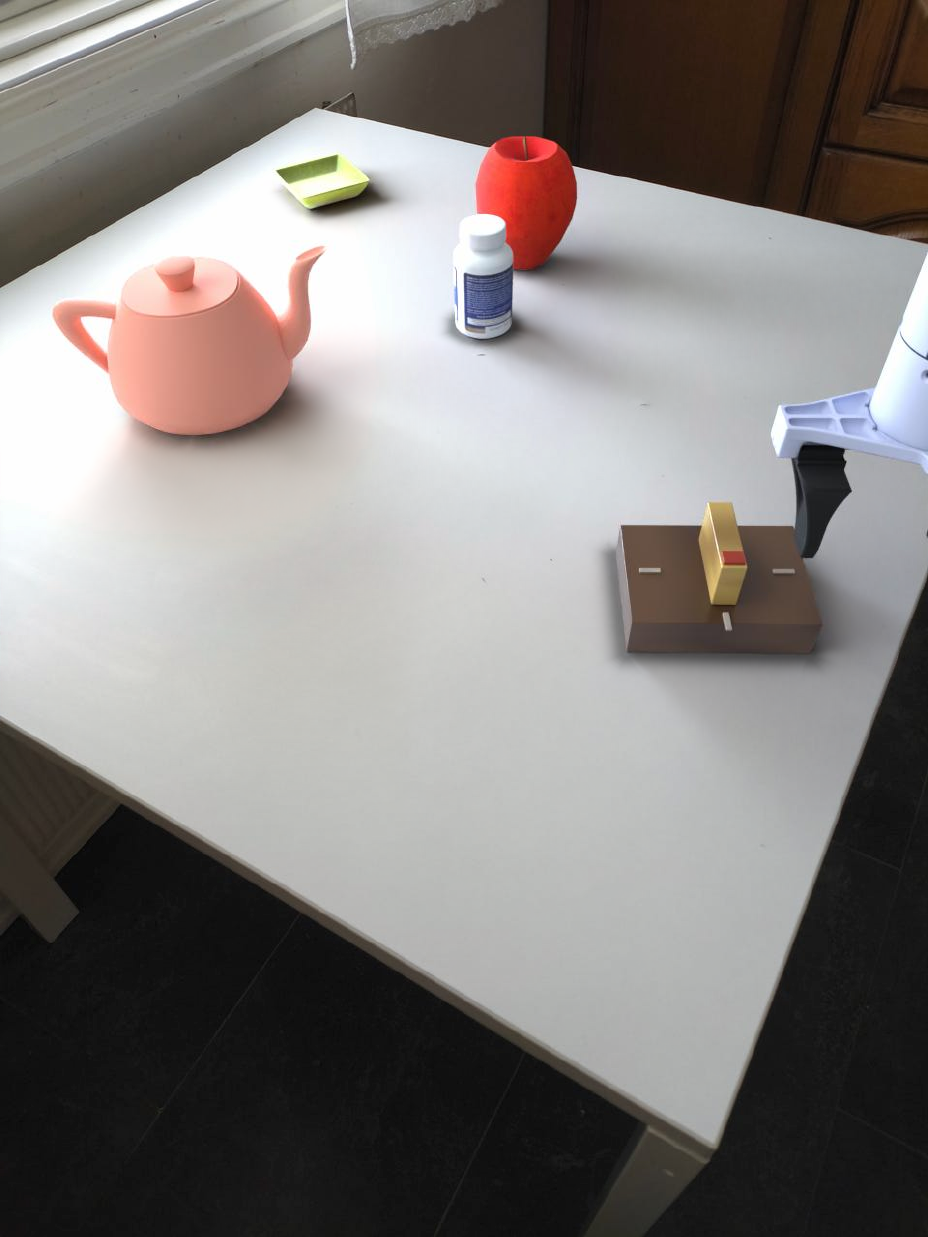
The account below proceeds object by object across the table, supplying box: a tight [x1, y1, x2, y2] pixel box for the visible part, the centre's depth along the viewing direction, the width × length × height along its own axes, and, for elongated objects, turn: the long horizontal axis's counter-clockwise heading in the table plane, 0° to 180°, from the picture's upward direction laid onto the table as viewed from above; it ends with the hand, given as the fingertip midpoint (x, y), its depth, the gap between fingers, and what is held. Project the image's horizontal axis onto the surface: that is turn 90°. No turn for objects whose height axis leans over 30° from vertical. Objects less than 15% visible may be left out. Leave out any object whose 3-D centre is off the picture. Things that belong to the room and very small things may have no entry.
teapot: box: [52, 245, 327, 436], centre depth 74 cm, size 22×15×12 cm
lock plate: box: [615, 517, 824, 655], centre depth 61 cm, size 12×10×3 cm
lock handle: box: [699, 501, 748, 605], centre depth 58 cm, size 6×2×4 cm, turn 178°
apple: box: [474, 135, 578, 271], centre depth 88 cm, size 10×10×12 cm
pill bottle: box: [452, 214, 514, 340], centre depth 82 cm, size 5×5×10 cm
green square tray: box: [272, 153, 371, 210], centre depth 104 cm, size 9×9×2 cm
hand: (869, 546), depth 52 cm, fingers open, 7 cm apart
